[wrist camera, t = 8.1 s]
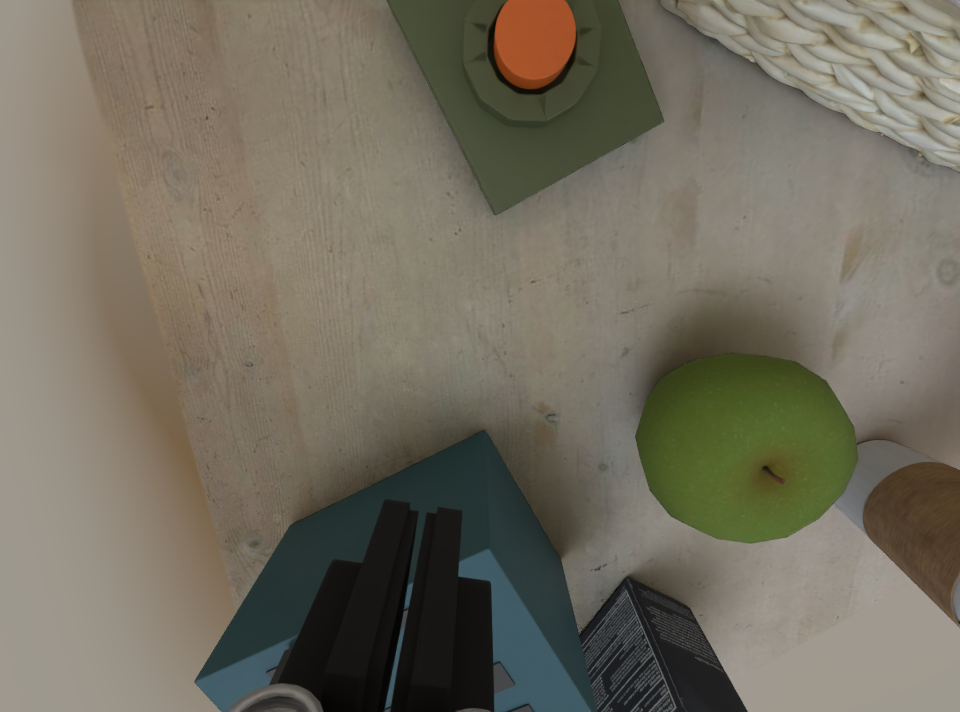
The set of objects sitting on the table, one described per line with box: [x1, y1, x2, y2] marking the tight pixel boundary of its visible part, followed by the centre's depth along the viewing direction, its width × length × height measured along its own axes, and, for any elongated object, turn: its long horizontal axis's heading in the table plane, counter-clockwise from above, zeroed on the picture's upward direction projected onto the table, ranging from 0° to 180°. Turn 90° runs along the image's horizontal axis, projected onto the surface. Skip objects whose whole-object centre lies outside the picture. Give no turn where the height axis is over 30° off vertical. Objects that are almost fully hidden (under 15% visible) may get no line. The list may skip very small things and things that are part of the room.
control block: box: [387, 0, 664, 215], centre depth 24 cm, size 12×10×4 cm
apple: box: [635, 353, 859, 543], centre depth 27 cm, size 11×10×10 cm
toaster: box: [194, 430, 598, 712], centre depth 29 cm, size 12×16×12 cm
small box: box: [580, 578, 747, 712], centre depth 32 cm, size 11×6×10 cm, turn 151°
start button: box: [494, 0, 576, 89], centre depth 22 cm, size 4×4×2 cm
